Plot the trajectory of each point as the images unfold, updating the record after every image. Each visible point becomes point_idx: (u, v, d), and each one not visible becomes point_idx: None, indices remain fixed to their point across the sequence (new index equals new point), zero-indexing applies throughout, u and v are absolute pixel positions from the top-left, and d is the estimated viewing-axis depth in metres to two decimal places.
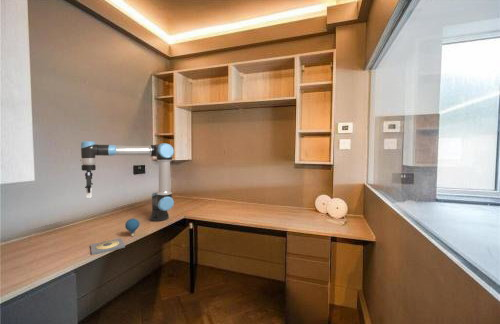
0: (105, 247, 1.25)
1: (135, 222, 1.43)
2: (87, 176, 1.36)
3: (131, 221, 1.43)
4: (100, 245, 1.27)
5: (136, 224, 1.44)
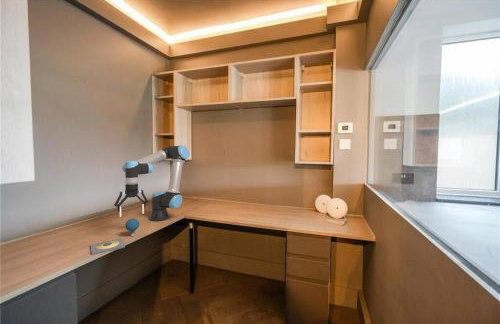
0: (105, 247, 1.25)
1: (135, 222, 1.43)
2: (119, 195, 1.40)
3: (131, 221, 1.43)
4: (100, 245, 1.27)
5: (136, 224, 1.44)
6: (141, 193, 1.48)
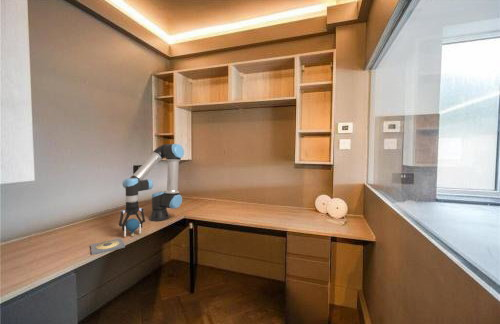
0: (105, 247, 1.25)
1: (135, 222, 1.43)
2: None
3: (131, 221, 1.43)
4: (100, 245, 1.27)
5: (136, 224, 1.44)
6: (141, 211, 1.48)
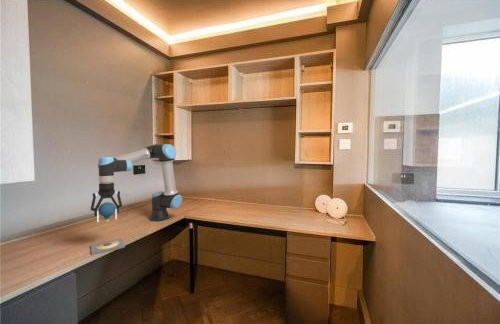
0: (105, 247, 1.25)
1: (110, 206, 1.26)
2: None
3: (105, 205, 1.25)
4: (100, 245, 1.27)
5: (111, 208, 1.26)
6: (117, 194, 1.31)
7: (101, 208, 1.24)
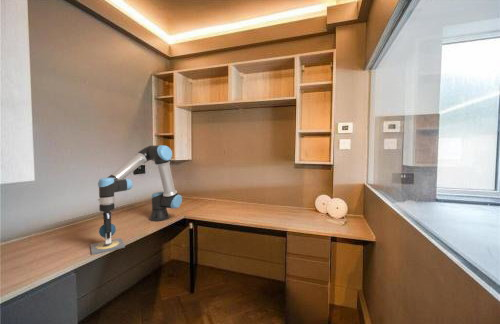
0: (105, 247, 1.25)
1: None
2: (107, 220, 1.23)
3: (112, 224, 1.29)
4: (100, 245, 1.27)
5: None
6: None
7: (113, 228, 1.28)
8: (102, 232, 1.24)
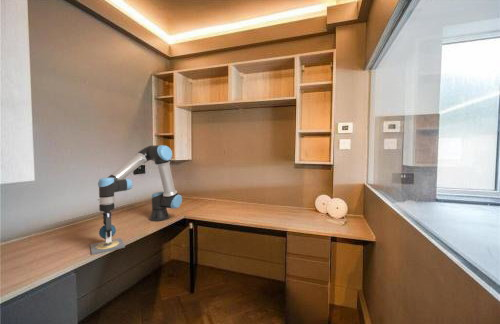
0: (105, 247, 1.25)
1: None
2: (107, 218, 1.22)
3: (112, 225, 1.29)
4: (100, 245, 1.27)
5: None
6: None
7: (113, 229, 1.28)
8: (102, 233, 1.24)
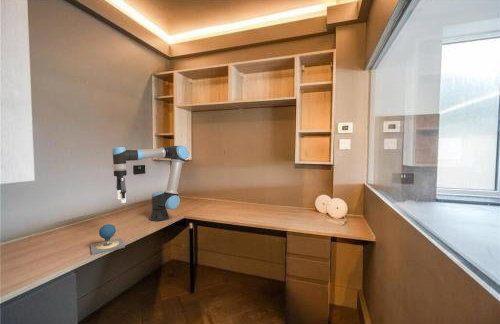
0: (105, 247, 1.25)
1: None
2: (121, 182, 1.39)
3: (112, 225, 1.29)
4: (100, 245, 1.27)
5: None
6: None
7: (113, 229, 1.28)
8: (102, 233, 1.24)
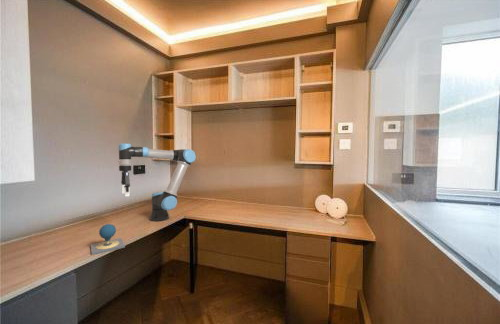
0: (105, 247, 1.25)
1: None
2: (126, 176, 1.46)
3: (112, 225, 1.29)
4: (100, 245, 1.27)
5: None
6: None
7: (113, 229, 1.28)
8: (102, 233, 1.24)
